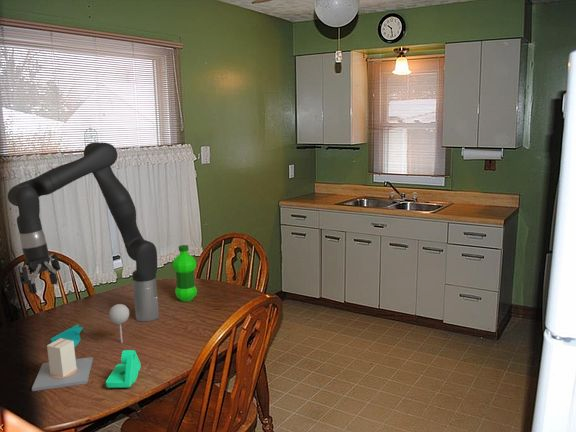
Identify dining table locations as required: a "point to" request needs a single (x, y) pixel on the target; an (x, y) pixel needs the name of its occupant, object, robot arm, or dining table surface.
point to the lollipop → (119, 315)
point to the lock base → (71, 379)
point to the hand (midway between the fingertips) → (44, 288)
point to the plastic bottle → (185, 274)
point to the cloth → (70, 335)
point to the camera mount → (125, 370)
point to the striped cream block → (61, 357)
